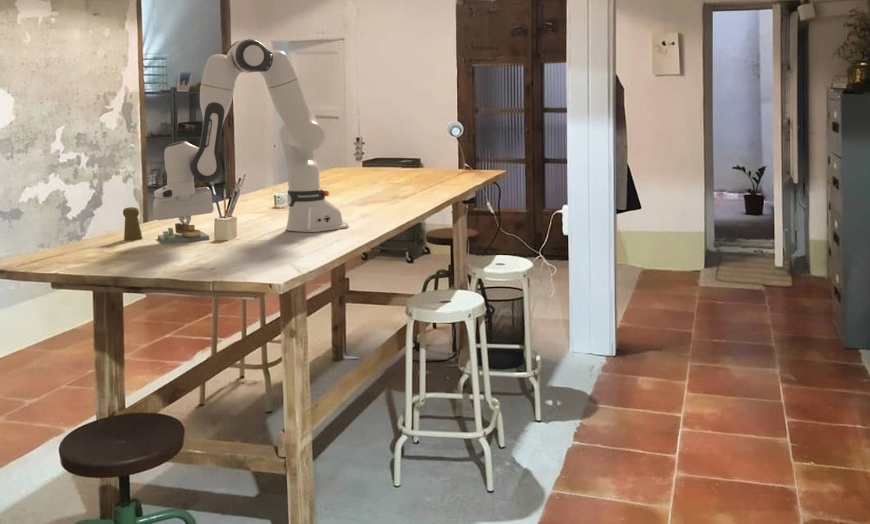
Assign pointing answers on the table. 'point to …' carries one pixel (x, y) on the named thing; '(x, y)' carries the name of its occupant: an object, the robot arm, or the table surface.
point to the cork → (131, 224)
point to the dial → (187, 230)
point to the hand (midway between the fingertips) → (186, 229)
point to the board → (179, 237)
